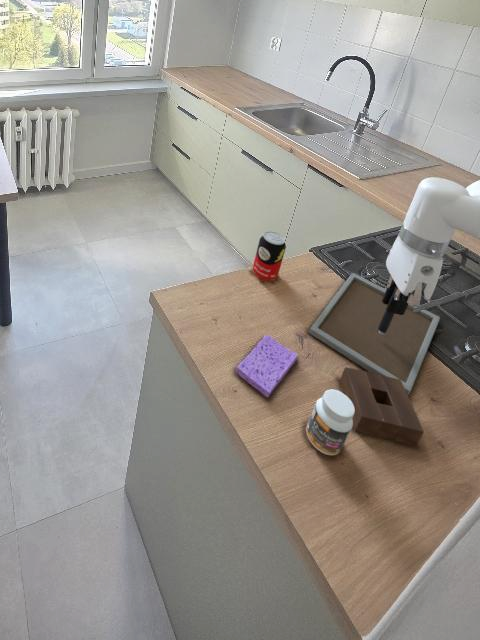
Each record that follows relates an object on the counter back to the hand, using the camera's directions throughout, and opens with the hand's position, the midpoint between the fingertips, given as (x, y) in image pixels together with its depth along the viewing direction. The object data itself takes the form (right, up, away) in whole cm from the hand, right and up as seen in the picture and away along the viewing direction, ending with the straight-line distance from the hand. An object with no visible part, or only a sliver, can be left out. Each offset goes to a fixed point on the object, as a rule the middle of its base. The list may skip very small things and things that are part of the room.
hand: (392, 307), depth 89 cm
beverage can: (-18, -1, +22) cm, 29 cm away
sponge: (-28, -11, -3) cm, 30 cm away
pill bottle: (-23, -17, -15) cm, 32 cm away
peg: (0, -7, +3) cm, 8 cm away
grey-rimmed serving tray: (+2, -8, +8) cm, 12 cm away
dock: (-10, -15, -10) cm, 21 cm away
